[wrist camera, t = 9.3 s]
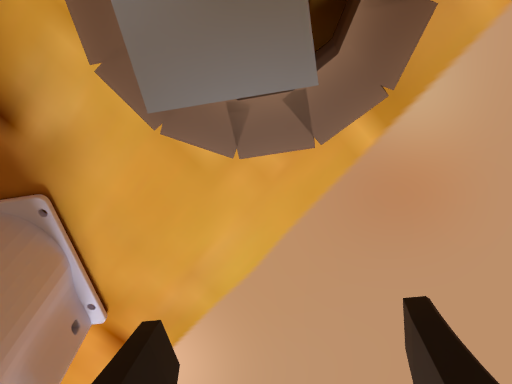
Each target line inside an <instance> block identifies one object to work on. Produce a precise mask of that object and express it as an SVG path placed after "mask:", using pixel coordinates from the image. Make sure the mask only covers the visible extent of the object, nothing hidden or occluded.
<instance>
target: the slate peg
mask: <svg viewBox="0 0 512 384" xmlns="http://www.w3.org/2000/svg"><path fill="white" fill-rule="evenodd" d="M111 3H112V6H113V9H114V12H115V15H116V18H117V21H118V24H119V27H120V30H121V33H122V36H123V39H124V42H125V45H126V48H127V51H128V54H129V58H130V61H131V64H132V67H133V70H134V73H135V76H136V79H137V82H138V85H139V88H140V91H141V94H142V97H143V100H144V103H145V106H146V109H147V113H154V112H160V111H166V110H172V109H179V108H185V107H191V106H197V105H203V104H209V103H215V102H221V101H227V100H233V99H239V98H245V97H251V96H257V95H263V94H269V93H275V92H281V91H287V90H293V89H299V88H305V87H311V86H317V85H319V84H318V76H317V68H316V60H315V52H314V44H313V36H312V28H311V20H310V12H309V3H308V0H111Z"/></svg>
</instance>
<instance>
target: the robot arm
mask: <svg viewBox="0 0 512 384" xmlns="http://www.w3.org/2000/svg"><path fill="white" fill-rule="evenodd" d="M42 209H43V210H45V211H46V212H47V213H45V212H43V211H42ZM92 304H93V305H92ZM403 308H404V309H403V310H404V330H405V349H406V353H407V358H408V362H409V367H410V371H411V375H412V379H413V384H499V383H498V382H497V381H496V380H495V379H494V378H493V377H492V376H491V375H490V373H489V372H488V371H487V370H486V369H485V368H484V367H483V366H482V365H481V364H480V363H479V361H478V360H477V359H476V358H475V357H474V356H473V355H472V353H471V352H470V351H469V350H468V349H467V348H466V346H465V345H464V344H463V343H462V342H461V341H460V339H459V338H458V337H457V336H456V334H455V333H454V332H453V330H452V329H451V328H450V327H449V325H448V324H447V323H446V321H445V320H444V319H443V317H442V316H441V315H440V314H439V312H438V310H437V309H436V308H435V306H434V305H433V303H432V302H431V300H430V299H429V298H427V297H426V296H423V297H411V298H403ZM106 318H107V313H106V311H105V309H104V307H103V305H102V303H101V301H100V299H99V297H98V295H97V293H96V291H95V289H94V287H93V285H92V283H91V281H90V279H89V277H88V275H87V273H86V271H85V269H84V267H83V265H82V263H81V261H80V259H79V257H78V255H77V253H76V251H75V249H74V247H73V245H72V243H71V241H70V239H69V237H68V235H67V233H66V231H65V229H64V227H63V225H62V224H61V222H60V220H59V218H58V216H57V214H56V212H55V210H54V208H53V206H52V204H51V202H50V200H49V199H48V198H47V197H46V196H44V195H42V194H37V195H30V196H23V197H17V198H10V199H3V200H0V384H60V383H61V381H62V379H63V377H64V375H65V373H66V372H67V370H68V368H69V366H70V364H71V362H72V360H73V358H74V357H75V355H76V353H77V351H78V349H79V347H80V345H81V344H82V342H83V340H84V338H85V336H86V334H87V332H88V331H89V329H90V327H91V325H92V324H101V323H104V322H105V320H106ZM179 366H180V364H179V362H178V359H177V357H176V355H175V353H174V350H173V348H172V345H171V343H170V341H169V338H168V336H167V333H166V331H165V329H164V326H163V324H162V322H161V320H156V321H145V322H142V323H141V324H140V325H139V326H138V328H137V329H136V330H135V331H134V332H133V334H132V335H131V336H130V337H129V339H128V340H127V341H126V342H125V344H124V345H123V346H122V347H121V349H120V350H119V351H118V352H117V354H116V355H115V356H114V357H113V359H112V360H111V361H110V362H109V363H108V365H107V366H106V367H105V368H104V369H103V371H102V372H101V373H100V374H99V375H98V377H97V378H96V379H95V380H94V381H93V383H92V384H177V381H178V373H179Z"/></svg>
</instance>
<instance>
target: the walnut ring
mask: <svg viewBox="0 0 512 384" xmlns="http://www.w3.org/2000/svg"><path fill="white" fill-rule="evenodd" d="M65 1H66V4H67V6H68V9H69V12H70V14H71V17H72V19H73V22H74V25H75V27H76V30H77V33H78V35H79V38H80V40H81V43H82V46H83V48H84V51H85V53H86V56H87V59H88V61H89V64H90V65H92V64H97V63H101V65H100V66H99V67H98V68H97V69H96V70H95V71H94V72H95V73H96V74H97V75H98V76H99V77H100V78H101V79H102V80H103V81H104V82H105V83H106V84H108V85H109V86H110V87H111V88H112V89H113V90H114V91H115V92H116V93H117V94H118V95H119V96H120V97H121V98H122V99H123V100H124V101H125V102H126V103H127V104H128V105H129V106H130V107H131V108H132V109H133V110H134V111H135V112H136V113H137V114H138V115H139V116H140V117H141V118H142V119H143V120H144V121H145V122H146V123H147V124H148V125H149V126H150V127H151V128H152V129H153V130H155V129H157V128H158V127H159V126H160V125H161V124H162V123H163V124H162V129H161V133H160V134H162V135H165V136H168V137H171V138H174V139H176V140H179V141H182V142H185V143H188V144H191V145H194V146H197V147H200V148H203V149H206V150H209V151H212V152H215V153H218V154H221V155H224V156H227V157H230V158H233V157H234V154H235V152H236V149H237V151H238V155H239V159H244V158H250V157H257V156H263V155H270V154H277V153H283V152H290V151H296V150H303V149H310V148H315V143H314V137H315V139H316V140H317V141H318V142H319V143H320V144H321V145H322V144H323V143H325V142H326V141H328V140H329V139H330V138H332V137H333V136H334V135H336V134H337V133H339V132H340V131H341V130H343V129H344V128H345V127H347V126H348V125H350V124H351V123H352V122H354V121H355V120H356V119H358V118H359V117H360V116H362V115H363V114H365V113H366V112H367V111H369V110H370V109H371V108H373V107H374V106H376V105H377V104H378V103H380V102H381V101H382V100H384V99H385V98H387V97H388V94H387V93H386V91H385V89H384V88H383V86H384V87H386V88H389V89H392V90H394V88H395V87H396V85H397V83H398V81H399V79H400V77H401V75H402V73H403V71H404V69H405V67H406V65H407V63H408V61H409V59H410V57H411V55H412V53H413V51H414V49H415V47H416V45H417V44H418V42H419V40H420V38H421V36H422V34H423V32H424V30H425V28H426V26H427V24H428V22H429V20H430V18H431V16H432V14H433V12H434V10H435V8H436V6H437V4H438V3H436V2H433V1H431V0H348V1H347V3H346V6H345V8H344V11H343V13H342V16H341V18H340V21H339V23H338V25H337V28H336V30H335V33H334V35H333V38H332V39H331V40H330V41H329V42H327V43H326V44H325V45H324V46H323V47H322V48H320V49H319V50H318V51H317V52H316V53H315V60H316V68H317V76H318V84H319V85H317V86H311V87H305V88H299V89H293V90H287V91H281V92H275V93H269V94H263V95H257V96H251V97H245V98H239V99H233V100H227V101H221V102H215V103H209V104H203V105H197V106H191V107H185V108H179V109H172V110H166V111H160V112H154V113H147V109H146V106H145V103H144V100H143V97H142V94H141V91H140V88H139V85H138V82H137V79H136V76H135V73H134V70H133V67H132V64H131V61H130V58H129V54H128V51H127V48H126V45H125V42H124V39H123V36H122V33H121V30H120V27H119V24H118V21H117V18H116V15H115V12H114V9H113V6H112V3H111V0H65Z"/></svg>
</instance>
